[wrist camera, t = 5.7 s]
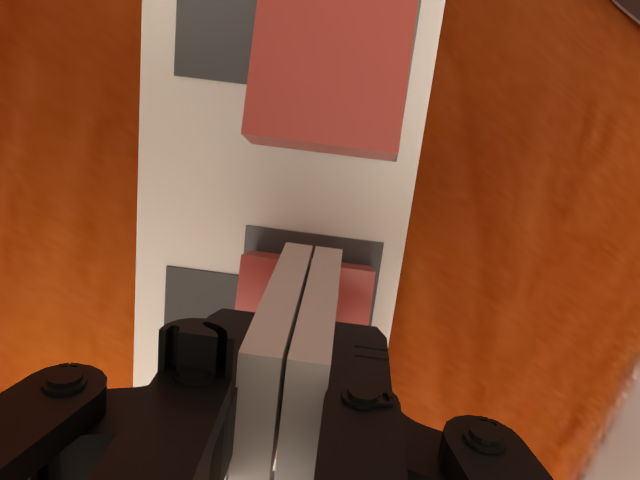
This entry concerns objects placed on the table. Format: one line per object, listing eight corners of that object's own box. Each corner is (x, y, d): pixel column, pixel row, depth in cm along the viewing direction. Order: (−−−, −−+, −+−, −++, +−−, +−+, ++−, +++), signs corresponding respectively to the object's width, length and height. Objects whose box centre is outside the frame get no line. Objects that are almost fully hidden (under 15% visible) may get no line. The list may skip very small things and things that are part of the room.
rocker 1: (277, -69, 16) (269, -109, 14) (419, -54, 16) (431, -91, 14) (251, 143, 16) (240, 133, 14) (391, 161, 16) (399, 152, 14)
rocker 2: (250, 250, 19) (240, 254, 17) (372, 266, 19) (375, 272, 17) (229, 428, 19) (217, 452, 17) (348, 444, 19) (349, 471, 17)
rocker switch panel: (186, -111, 20) (136, -164, 15) (444, -81, 20) (469, -127, 15) (159, 535, 28) (121, 624, 23) (342, 561, 28) (338, 656, 23)
